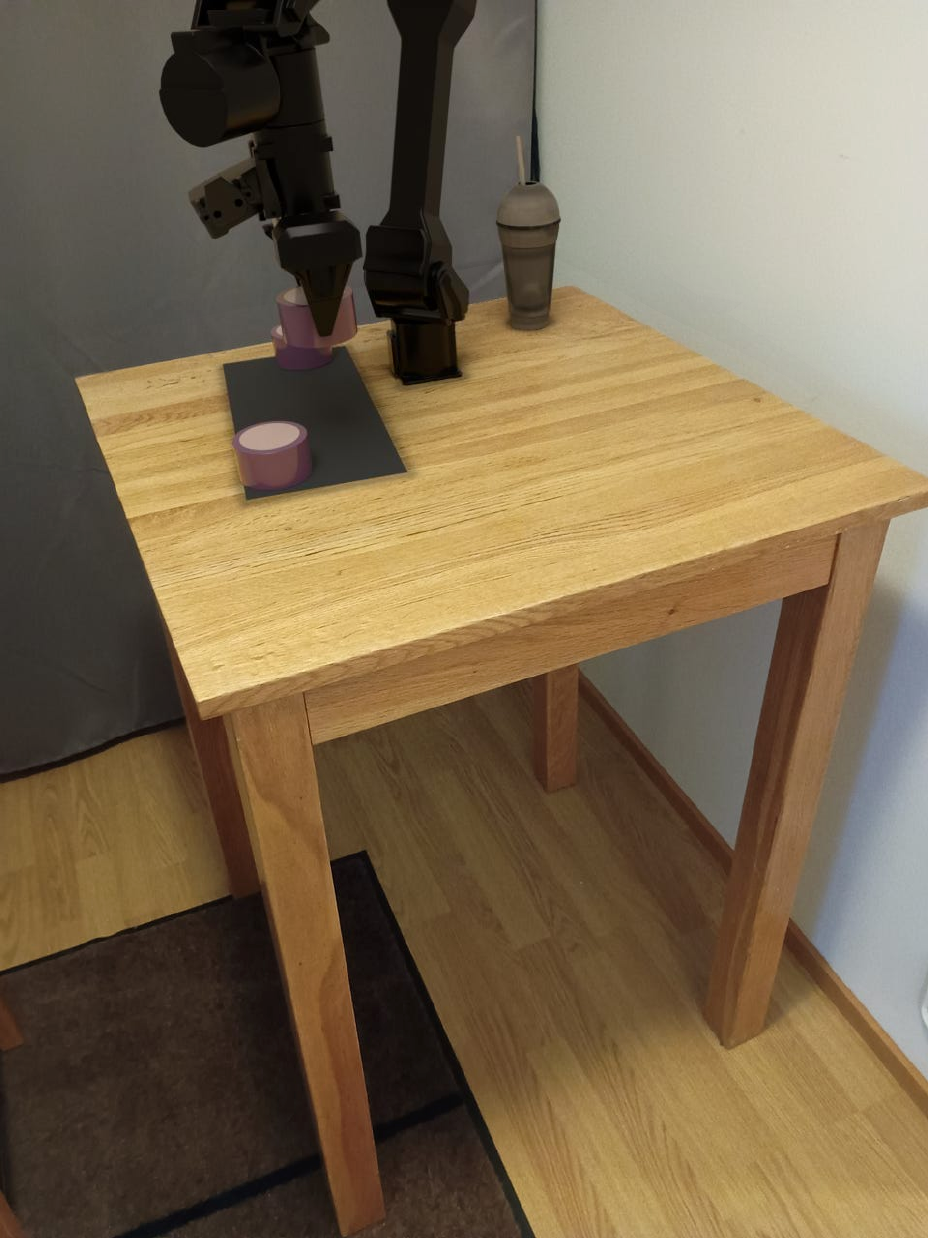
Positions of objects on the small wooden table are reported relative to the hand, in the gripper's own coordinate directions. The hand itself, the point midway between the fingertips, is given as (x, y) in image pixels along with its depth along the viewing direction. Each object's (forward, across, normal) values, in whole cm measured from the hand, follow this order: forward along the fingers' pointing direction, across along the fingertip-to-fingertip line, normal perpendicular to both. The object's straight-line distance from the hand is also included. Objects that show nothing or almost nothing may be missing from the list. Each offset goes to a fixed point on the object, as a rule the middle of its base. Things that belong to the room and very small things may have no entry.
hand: (318, 322), depth 80 cm
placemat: (+11, -8, -2) cm, 14 cm away
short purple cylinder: (+11, -22, 0) cm, 24 cm away
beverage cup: (+12, -23, +27) cm, 37 cm away
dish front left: (+1, 0, 0) cm, 1 cm away
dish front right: (+11, +5, -6) cm, 13 cm away
